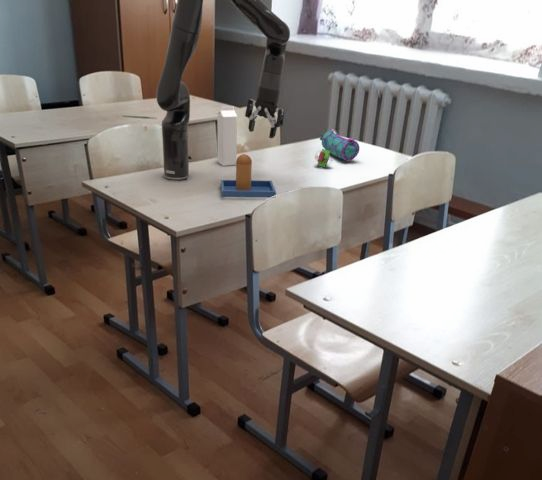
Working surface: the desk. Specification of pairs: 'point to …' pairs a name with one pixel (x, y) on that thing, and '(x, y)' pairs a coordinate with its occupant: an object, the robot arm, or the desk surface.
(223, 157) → the milk
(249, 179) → the orange rounded cylinder
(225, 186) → the tray
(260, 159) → the desk surface
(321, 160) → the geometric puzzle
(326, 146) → the pencil case
